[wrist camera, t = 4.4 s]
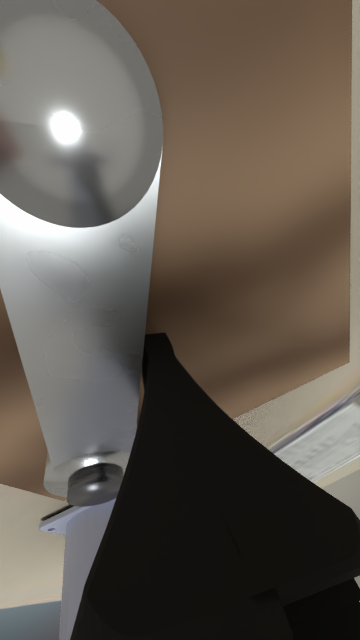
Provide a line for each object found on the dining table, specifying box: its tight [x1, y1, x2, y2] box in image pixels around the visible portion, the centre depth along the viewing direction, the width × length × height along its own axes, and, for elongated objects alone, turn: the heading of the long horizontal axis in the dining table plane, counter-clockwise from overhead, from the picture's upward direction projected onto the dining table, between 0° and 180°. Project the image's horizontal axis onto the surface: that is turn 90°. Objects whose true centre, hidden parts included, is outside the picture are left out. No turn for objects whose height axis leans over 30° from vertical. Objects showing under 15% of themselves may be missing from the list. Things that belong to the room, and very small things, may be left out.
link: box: [0, 0, 163, 507], centre depth 8 cm, size 16×4×2 cm, turn 171°
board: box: [0, 0, 352, 501], centre depth 10 cm, size 20×19×1 cm
